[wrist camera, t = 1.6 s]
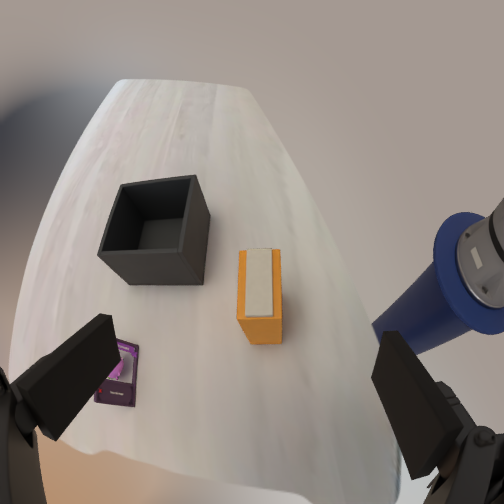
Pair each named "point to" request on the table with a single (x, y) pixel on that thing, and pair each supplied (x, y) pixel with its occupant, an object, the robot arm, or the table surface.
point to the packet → (260, 295)
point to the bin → (158, 232)
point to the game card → (117, 390)
